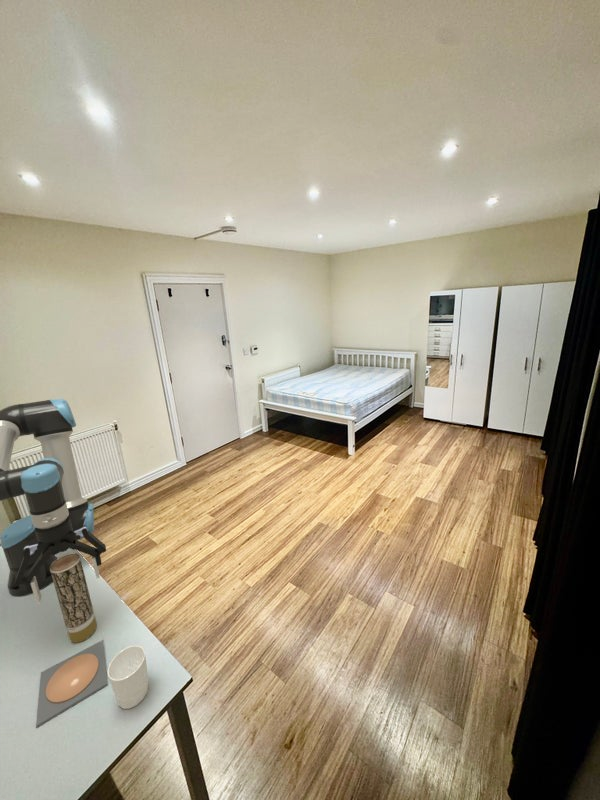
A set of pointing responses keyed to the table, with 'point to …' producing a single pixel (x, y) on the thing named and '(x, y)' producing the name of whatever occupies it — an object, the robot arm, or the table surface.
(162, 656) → the table surface
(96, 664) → the coaster
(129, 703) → the white cup
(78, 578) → the brown bark cylinder
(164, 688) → the table surface
